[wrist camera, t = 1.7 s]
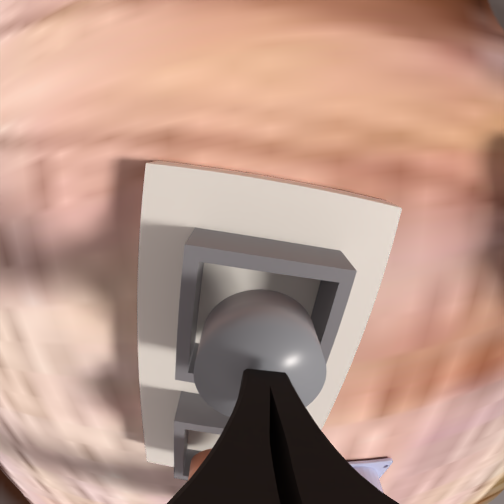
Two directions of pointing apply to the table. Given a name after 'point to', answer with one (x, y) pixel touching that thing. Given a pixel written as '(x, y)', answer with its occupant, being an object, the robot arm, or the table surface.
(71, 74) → the table surface
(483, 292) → the table surface
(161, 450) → the button panel
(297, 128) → the table surface
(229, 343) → the grey low dome
